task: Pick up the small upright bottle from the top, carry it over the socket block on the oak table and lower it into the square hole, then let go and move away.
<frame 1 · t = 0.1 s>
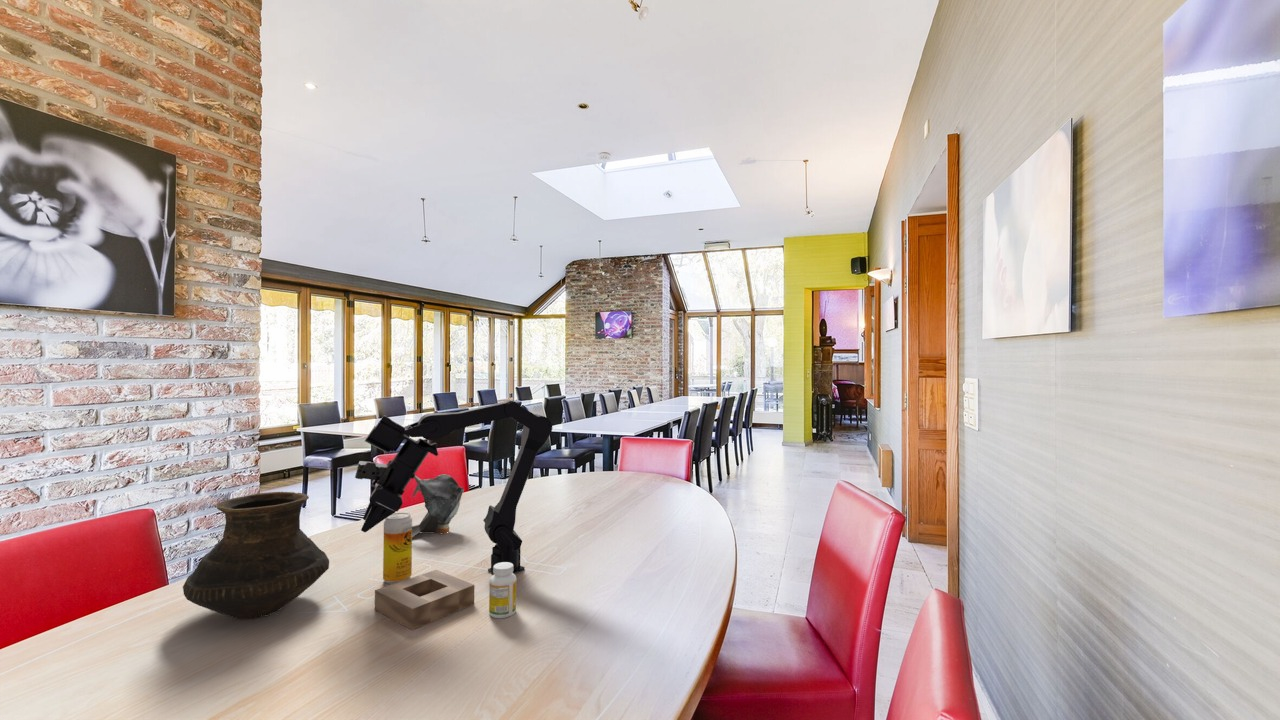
hand: (364, 525, 117), 15 cm above the table, tool tilted 35°, fingers open, 9 cm apart
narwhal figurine: (434, 534, 159), on the table
socket block: (425, 606, 111), on the table
ceramic pot: (259, 610, 109), on the table
beer can: (397, 580, 124), on the table
supplement bottle: (502, 613, 108), on the table
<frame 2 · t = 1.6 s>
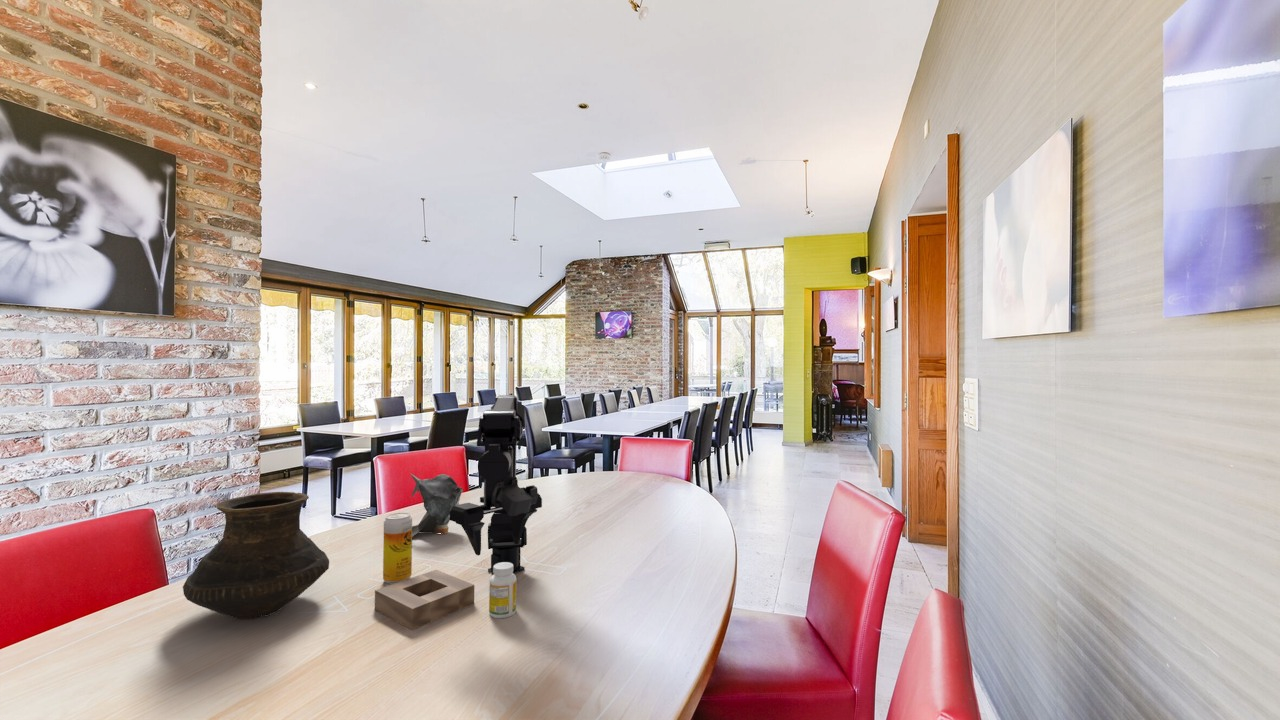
hand: (497, 549, 108), 13 cm above the table, tool pointing down, fingers open, 9 cm apart
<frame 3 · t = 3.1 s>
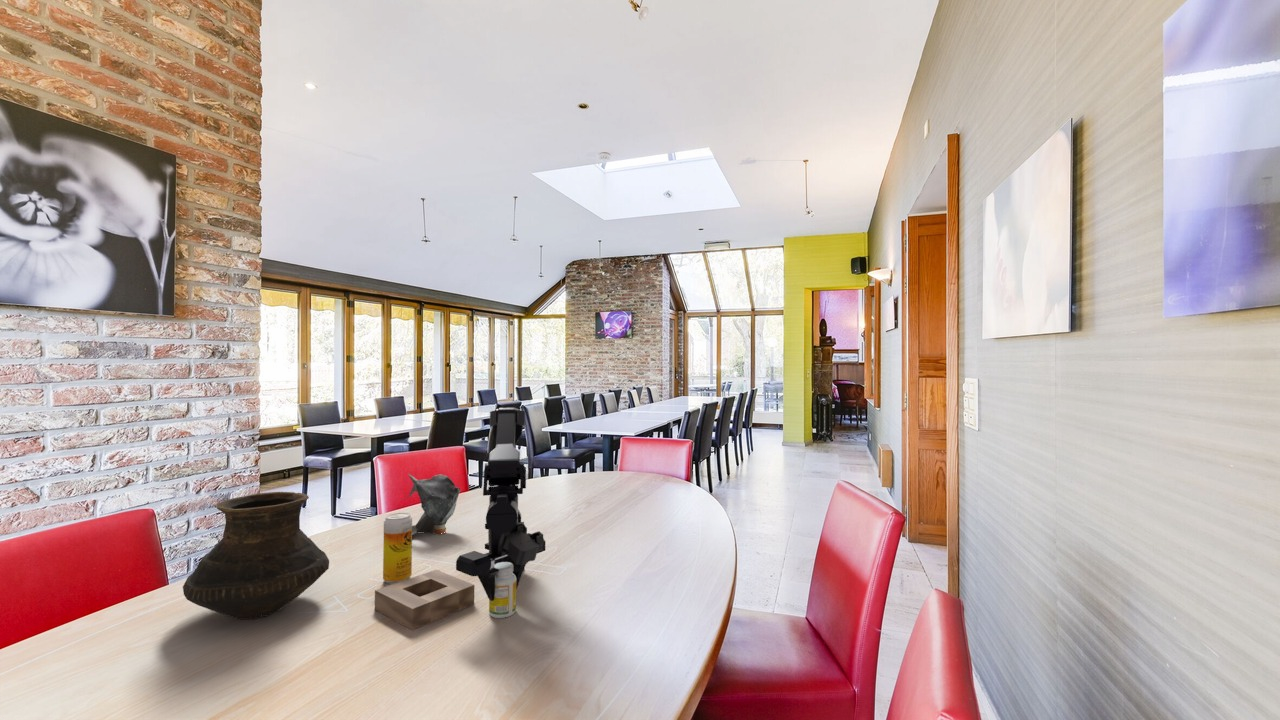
hand: (502, 595, 108), 4 cm above the table, tool pointing down, fingers closed on supplement bottle, 5 cm apart
supplement bottle: (502, 613, 108), on the table, touching gripper
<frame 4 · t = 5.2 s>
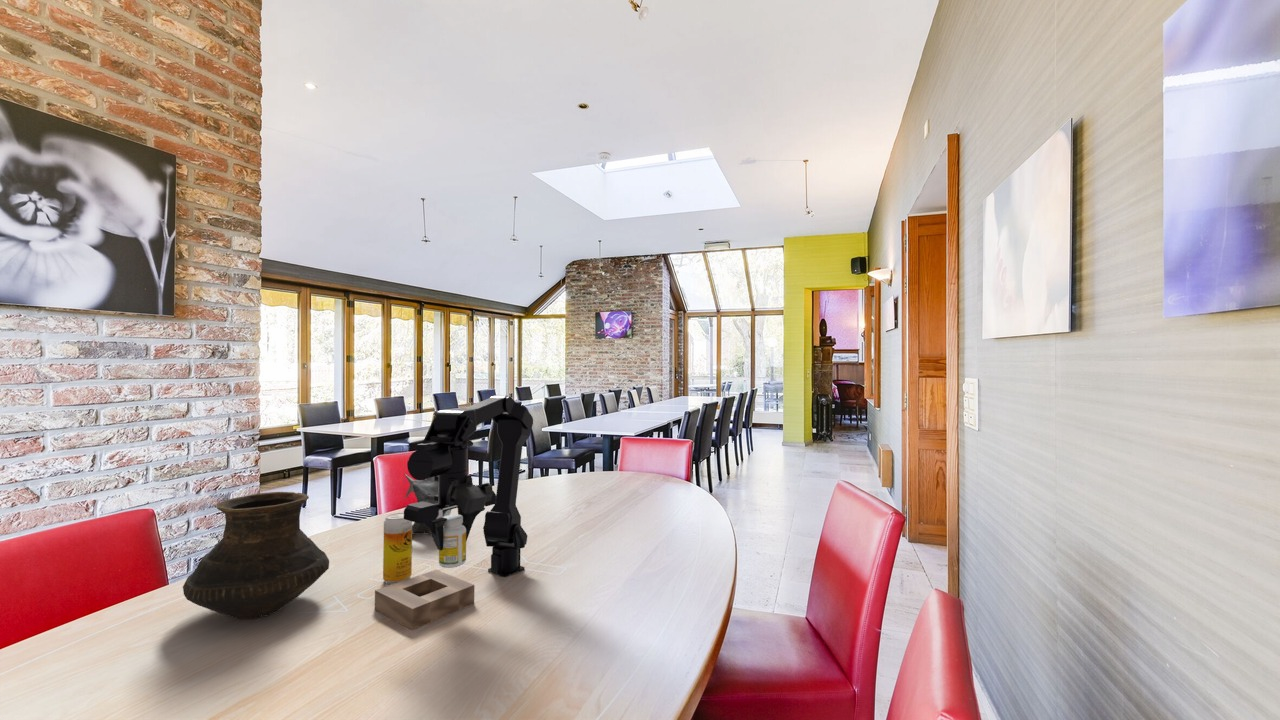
hand: (452, 546, 110), 13 cm above the table, tool pointing down, fingers closed on supplement bottle, 5 cm apart
supplement bottle: (452, 564, 110), point 9 cm above the table, touching gripper
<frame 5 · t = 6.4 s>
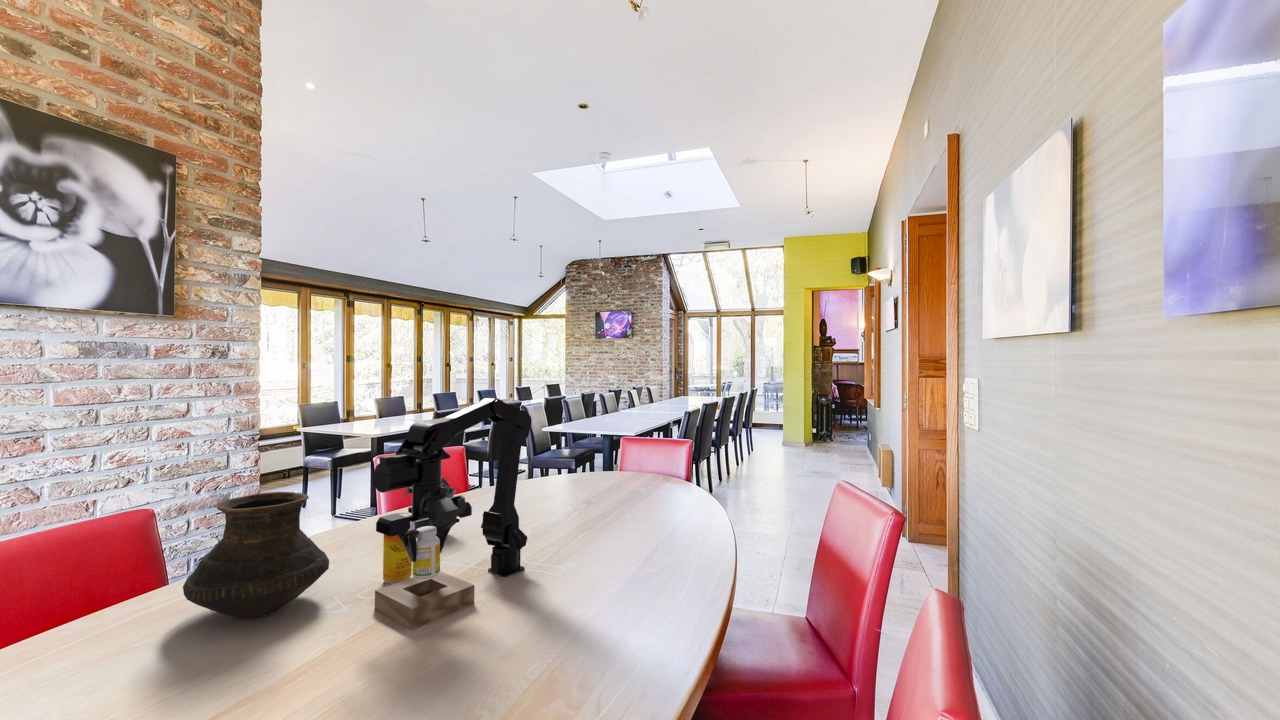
hand: (426, 557, 111), 10 cm above the table, tool pointing down, fingers closed on supplement bottle, 5 cm apart
supplement bottle: (426, 575, 111), point 6 cm above the table, touching gripper
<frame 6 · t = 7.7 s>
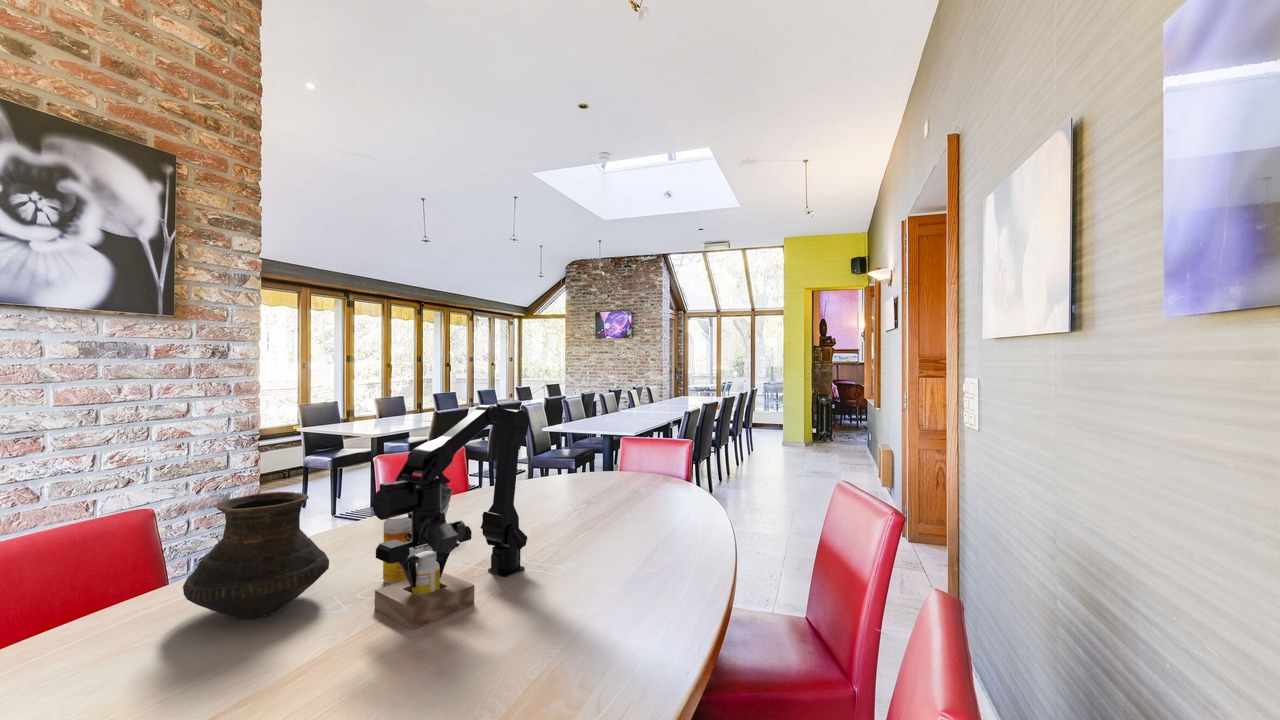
hand: (425, 582, 111), 5 cm above the table, tool pointing down, fingers closed on supplement bottle, 5 cm apart
supplement bottle: (426, 600, 111), point 1 cm above the table, touching gripper
when the fingers open (5 cm above the table, at t = 7.9 s): supplement bottle drops 1 cm, resting in socket block.
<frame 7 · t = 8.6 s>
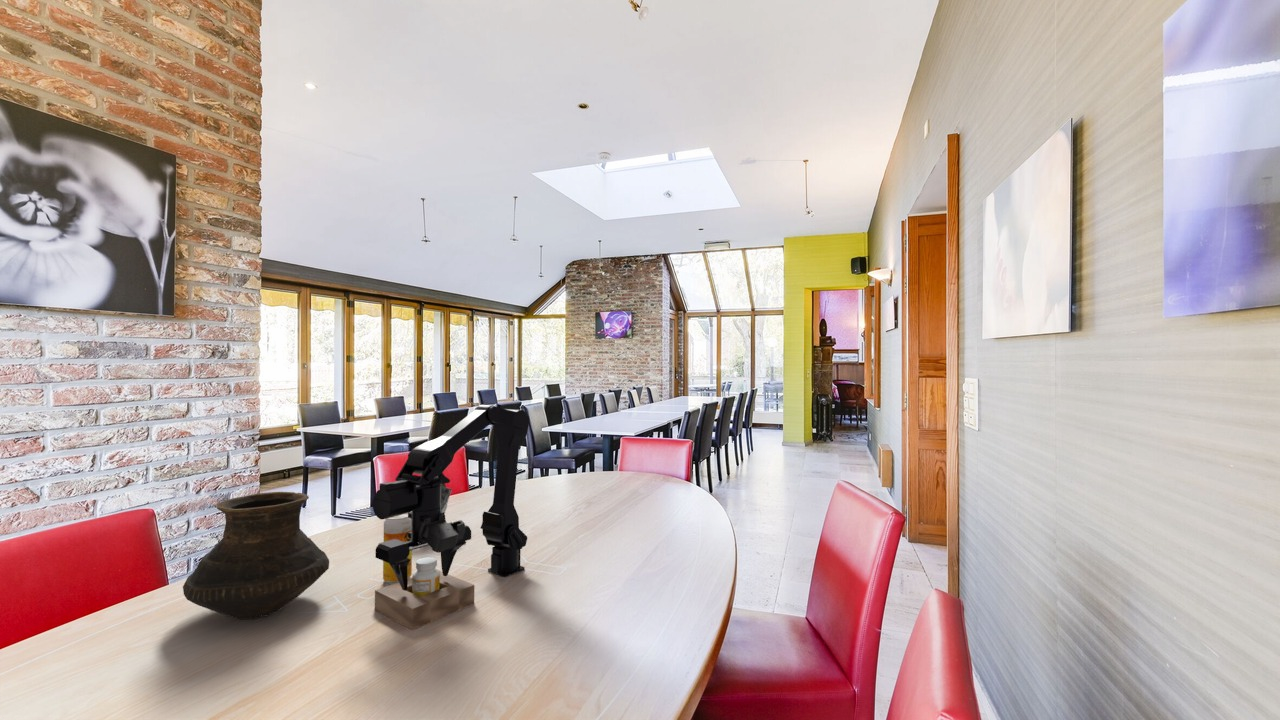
hand: (425, 582, 111), 5 cm above the table, tool pointing down, fingers open, 9 cm apart
supplement bottle: (425, 607, 111), resting in socket block
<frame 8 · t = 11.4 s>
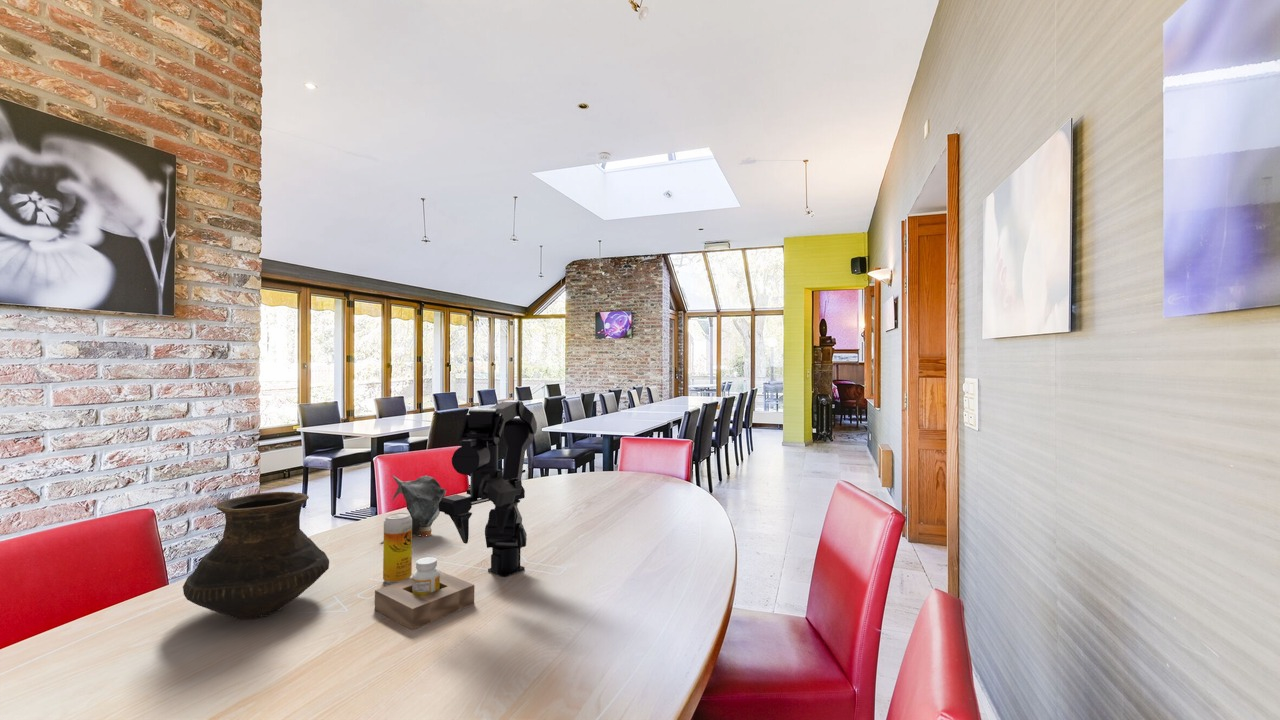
hand: (483, 537, 115), 13 cm above the table, tool pointing down, fingers open, 9 cm apart
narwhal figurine: (415, 537, 156), on the table
everything else where it was.
at the end: supplement bottle 0.1 cm from the socket block (horizontally); supplement bottle resting in socket block; supplement bottle tilted 0° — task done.
